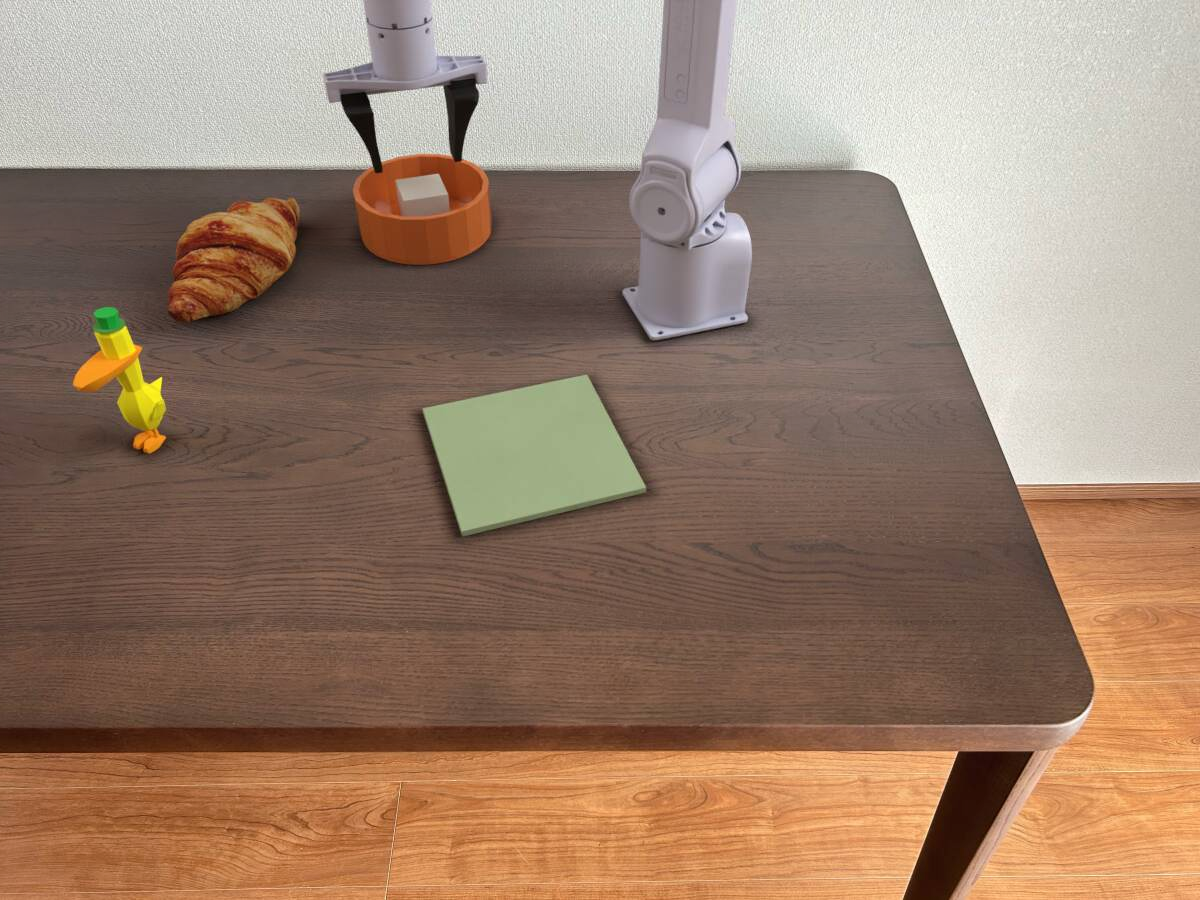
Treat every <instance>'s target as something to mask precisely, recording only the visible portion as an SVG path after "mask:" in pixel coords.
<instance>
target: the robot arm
mask: <svg viewBox="0 0 1200 900" xmlns="http://www.w3.org/2000/svg"><path fill="white" fill-rule="evenodd" d="M737 2H738V0H663V6H662V20H661V21H662V23H661V41H660V59H659V75H658V78H659V79H658V92H657V108H656V109H657V110H656V120H655V123H654V126H653V127H652V130H651V133H650V135H649V137H648V139H647V142H646V144H645V147H644V149H643V152H642V155H641V165H640V172H639V175H638V177H637V179H636V180H635V182H634V183H633V185H632V187H631V189H630V192H629V197H628V205H629V212H630V214H631V218H632V220H633V222H634V224H635V225H636V227H637V228H638V229H639V230H640V246H639V267H638V285H637V286H631V287H626V288H623V289H622V297H623V298H624V299H625V301H626V303H627V304H628V306H629V307H630V309H631V311H632V312H633V313H634V316H635V318H636V319H637V320H638V322H639V324H640V325H641V328H643V330H644V332H645V333H646V335H647V337H648V338H649V339H650V340H651V341H661V340H665V339H670V338H675V337H681V336H685V335H691V334H695V333H700V332H705V331H711V330H716V329H720V328H725V327H730V326H735V325H740V324H745V323H747V322H748V320H749V316H748V314H747V313H746V304H747V299H748V298H747V296H748V290H749V283H750V278H751V277H750V276H751V268H752V263H753V249H752V247H753V246H752V239H751V235H750V232H749V228H748V226H747V224H746V222H745V220H744V219H743V218H742V216H741V215H739V214H738V213H736V212H726V210H725V202H726V198H728V197H729V196H730V195H731V194H732V193H733V192H734V191H735V190H736V188H737V187H738V185H739V182H740V180H741V176H742V164H741V159H740V155H739V154H738V151H737V148H736V142H735V137H736V136H735V134H736V128H737V127H736V123H735V122H734V121H733V120H732V119H730V118H729V117H728V116H727V115H726V105H727V95H728V86H729V77H730V68H731V60H732V59H731V58H732V50H733V40H734V30H735V21H736V12H737ZM362 3H363V9H364V15H365V23H366V28H367V29H366V30H367V36H368V44H369V50H370V57H371V62H367V63H364V64H360V65H356V66H352V67H349V68H345V69H341V70H335V71H331V72H324V73H322V79H323V83H324V89H325V95H326V97H327V100H328V103H330V104H332V103H339V102H340V103H341V104H340V105H341V106H342V110H343V112H344V115H345V116H346V117H347V119H348V121H349V122H350V123H351V125H352V126H353V127H354V129H355V130H356V132H357V134H358V135H359V137H360V138H361V140H362V143H363V144H364V146H365V148H366V150H367V152H368V154H369V157H370V160H371V165H372V167H373V168H374V171H375V173H383V169H382V163H381V162H382V159H381V155H380V151H379V147H378V142H377V141H378V140H377V132H376V126H375V113H374V111H373V108H372V105H371V100H370V98H369V96H372V95H379V94H387V93H396V92H403V91H413V90H419V89H428V88H436V87H442V88H443V92H444V99H445V105H446V106H445V107H446V114H447V127H448V128H447V129H448V146H449V153H450V156H452V157H453V159H454V161H455V162H460V161H462V159H463V151H464V145H465V139H466V135H467V131H468V127H469V125H470V122H471V119H472V117H473V114H474V112H475V110H476V109H477V107H478V104H479V100H480V91H479V89H478V88H477V85H485V84H488V70H487V69H488V68H487V67H488V66H487V62H486V60H485V59H484V58H483V56H482V55H481V54H478V55H476V54H475V55H437V50H436V49H437V48H436V40H435V29H434V21H433V12H432V2H431V0H362Z"/></svg>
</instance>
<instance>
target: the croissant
mask: <svg viewBox="0 0 1200 900" xmlns="http://www.w3.org/2000/svg"><path fill="white" fill-rule="evenodd" d="M300 213H301V210H300V206H299V204H298V203H297V201H296V199H295V198H293V197H291V198H288V199H287V200H285V199H281V198H275V197H267V198H265V199H263V201H261V202H253V201H245V200H243V201H242V200H241V201H238V200H237V201H235V202H233V203H232V204H231V205H230V206H229V207H228V208H227V211H226V212H224V211H223V212H222V211H219V212H214V213H208V214H206V215H203V216H202V217H200V218H199V219H194V220H193V221H192V222H191V223H190V224H188V225H187V228H186V230H185V232H183V234H182V235H181V236H180V238H179V240H178V241H177V245H176V251H175V261H176V262H175V264H174V267H173V269H172V276H173V282H172V284H171V286H170V288H169V290H168V292H167V296H166V297H167V298H166V299H167V303H168V304H167V309H166V312H167V315H168V316H169V318H171V319H173V320H174V322H180V323H181V322H182V323H184V322H186V323H189V322H193V321H197V320H199V319H202V318H208V317H209V316H218V315H220V316H221V315H225V314H227V313H231V312H232V311H233V312H234V311H235V310H238V309H239V308H240V307H241V306H242V305H244V304H245V303H247V302H248V301H251V300H253V299H257V298H258V297H260V296H261V295H262V294H264V293H265V292H266V291H267V290H268V289H269V288H270V287H271V286H272V285H273V284H274V283H275V282H277V281H278V279H280V278H281V277H282V276H283V275H284V274H285V273H287V272H288V270H289V269H290V268H291V266H292V264H293V262H294V259H295V256H296V252H297V247H296V245H295V243H296V240H297V236H298V226H299V223H300V221H299V220H300Z"/></svg>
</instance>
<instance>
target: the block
mask: <svg viewBox="0 0 1200 900" xmlns="http://www.w3.org/2000/svg"><path fill="white" fill-rule="evenodd" d="M395 181H396V188H397V195H398V202H399V208H400V215H401V216H430V215H436V214H443V213H446V212H449V211H450V208H449V198H448V193H447V191H446V189H445V186H444V184H443V182H442V180H441V178H440V175H439V174H433V175H426V176H419V177H412V178H405V179H399V180H395Z"/></svg>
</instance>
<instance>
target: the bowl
mask: <svg viewBox="0 0 1200 900" xmlns="http://www.w3.org/2000/svg"><path fill="white" fill-rule="evenodd" d="M381 163H382V169H383V173H375V171H374V168H373V166H371V167H369V168H367V169H366V170H364V171H363V172H362V173H361V174H360V175H359V176H358V177H357V178H356V179H355V182H354V185H353V188H352V196H353V202H354V207H355V213H356V218H357V223H358V224H357V225H358V230H359V234H360V236H361V241H362V244H363V245H364V247H365V248H366V249H367V250H368V251H370V252H371V253H372V254H373V255H375V256H377V257H379V258H381V259H383V260H386V261H389V262H394V263H397V264H402V265H403V264H404V265H411V266H412V265H414V266H425V265H436V264H443V263H447V262H448V263H449V262H452V261H454V260H458V259H461V258H463V257H466V256H468V255H470V254H472V253H473V252H475V251H477V250H478V249H479V248H480V247H481V246H483V245H484V244H485V243H486V242H487V240H488V239H489V237H490V236H491V233H492V222H493V219H492V205H491V204H492V203H491V191H490V180H489V178H488V176H487V174H486V173H485V171H484V170H483V169H482V168H481V167H479V165H476V164H475V163H474V162H472V161H469V160H466V159H464V158H462V161H460V162H455V161H454V159H453V157H452V155H448V154H441V153H416V154H409V155H402V156H396V157H394V158H390V159H387V160H383V161H381ZM433 174H439V175H440V178H441V180H442V182H443V184H444V186H445V189H446V191H447V193H448V198H449V208H450V211H449V212H446V213H443V214H436V215H430V216H401V215H400V208H399V202H398V195H397V188H396V181H395V180H399V179H405V178H412V177H419V176H426V175H433Z"/></svg>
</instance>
